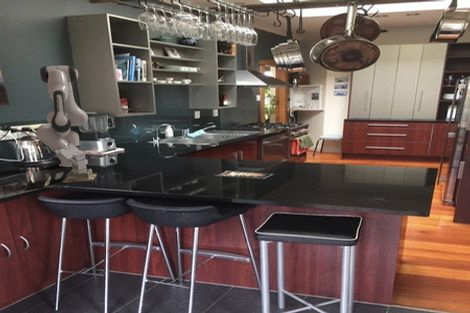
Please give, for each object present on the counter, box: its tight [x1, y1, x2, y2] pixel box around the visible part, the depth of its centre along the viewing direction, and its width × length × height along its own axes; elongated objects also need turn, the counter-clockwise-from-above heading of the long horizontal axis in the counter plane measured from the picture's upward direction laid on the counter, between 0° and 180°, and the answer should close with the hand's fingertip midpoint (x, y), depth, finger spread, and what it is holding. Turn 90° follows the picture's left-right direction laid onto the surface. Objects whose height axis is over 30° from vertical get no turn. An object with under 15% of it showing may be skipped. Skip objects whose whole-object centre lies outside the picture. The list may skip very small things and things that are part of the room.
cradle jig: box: [62, 168, 98, 184], centre depth 198 cm, size 14×16×4 cm
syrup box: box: [71, 152, 87, 174], centre depth 197 cm, size 6×6×14 cm
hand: (79, 162), depth 197 cm, fingers closed on syrup box, 8 cm apart
